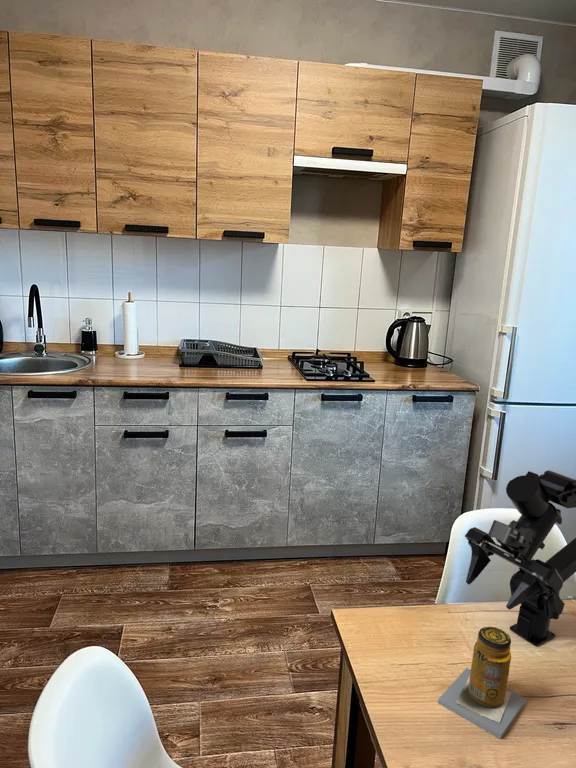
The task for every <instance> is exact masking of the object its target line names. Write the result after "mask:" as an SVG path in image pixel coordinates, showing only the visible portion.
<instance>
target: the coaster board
mask: <svg viewBox="0 0 576 768" xmlns="http://www.w3.org/2000/svg"><path fill="white" fill-rule="evenodd" d="M470 673H471V668H470V669H469V668H468V667H465V669H464V670H463V671H462V672H461V673H460V674H459V675H458V677H457V678H456V679H455V680H454V681H453V682H452V683H451V685H450V686H449V687H448V688H447V689H446V690H445V691H444V692H443V693H442V694H441V696H440V697H439V698H438V699H437V703H438V705H441V706H442V707H444V708H445V709H447V710H449V711H451V712H452V713H454V714H456V715H458V716H460V717H462V718H463V719H464V720H467V721H469V722H470V723H472V724H474V725H475V726H477V727H479V728H480V729H483V730H484V731H486V732H487V733H489V734H491V735H492V736H495V737H496V738H498V739H500V740H501V739H502V738H503V737H504V735H505V734H506V733H507V731H508V729H509V728H510V727H511V725H512V724H513V722H514V721H515V719H516V718H517V716H518V715H519V714H520V712H521V711H522V709H523V708H524V706H525V705H526V703H527V698H526V697H524V696H523V695H520V694H518V693H516V692H514V691H512V690H510V689H508V688H507V687H506V690H507V691H509V692H512V693H511V695H510V698H509V701H508V703H507V706H506V708H505V710H504V713H503V715H502V718H501V721H500V723H499V722H496V721H494V720H491V719H489V718H487V717H485V716H481V715H480V714H478V713H476V712H473V711H471V710H469V709H467V708H465V707H463V706H461V705H460V704H458V703H456V701H457V699H458V697H459V695H460V693H461V691H462V689H463V688H464V686H465V684H466V682H467V680H468V678H469V676H470ZM491 710H492V709H491Z"/></svg>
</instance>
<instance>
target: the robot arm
mask: <svg viewBox="0 0 576 768" xmlns="http://www.w3.org/2000/svg"><path fill="white" fill-rule="evenodd" d="M505 493H506V495H507V497H508V498H509V499H510V501H511V503H512V505H514V507H515V509H516V510H517V511H518V513H519V514H520V516H519V518H518V519H517V520H514V519H513V520H512V521H510V522H509V524H506V523H504V522H501V521H498V520H496V519H494V520H493V521H492V524H491V526H490V528H489V531H488V532H486V531H483V530H482V529H479V528H478V527H471V528H469V529H468V531H467V532H466V533H465V535H464V537H465V538H466V540H467V541H468V542H467V544H468V545H469V547H470V548H471V550H470V551H471V558H470V563H469V567H468V570H467V575H466V579H465V583H466V584H467V585H469V586H470V585H471V584H472V583H473V582H474V581H475V580H476V579H477V578H478V577H479V575H480V574H482V572H483V571H484V570H485V569H486V567H487V566H488V565H489V564H490V562H491V559H490V557H491V556H494V555H495V556H498V557H499V558H501V559H503V560H505V561H507V562H509V563H511V564H513V565H514V566H516V567H518V571H516V572H515V573H513V575H512V576H511V578H510V581H509V588H510V595H511V597H510V598H509V600H508V601H507V603H506V605H505V607H506V608H507V609H508V610H512V609H514V608H515V607H517V606H519V605H520V606H519V610H518V614H517V620H516V623H514V624H513V625H510V626H509V630H510V631H511V632H513V633H515V634H516V635H518V636H520V637H521V638H522V639H524V640H525V641H526V642H529V643H530V644H532V645H533V646H535V647H538V646H540V645H543V644H544V643H546V642H548V641H550V640H553V639H554V638H555V637H556V634H555V633H553V632H552V631H550V630H549V629H550V623H551V619H552V620H559V618H560V615H562V614H563V611H564V608H565V606H566V605H565V602H564V601H563V600H562V599H561V597H560V593H561V589H562V588H563V585H564V583H565V582H566V581H568V579H569V578H571V576H573V575H574V574H575V573H576V537H575V538H573V539H572V540H570V541H569V542H568V543H567V544H566V545H565V546H564V547H562V548H561V549H560V550H558V551H557V552H556V553H554V555H552V556H551V557H550V558H549V559H547V560H546V561H542V560H540V559H538V558H536V559H534V558H533V557H534V556H536V554H537V552H538V550H539V549H541V550H542V551H543V550H544V548H545V547H546V544H545V543H544V541H545V540H546V538H547V536H548V535H549V534H550V532H551V530H553V528H554V526H555V524H558V525H562V524H563V523H562V522H563V517H562V514H561V513H562V511H561V509H559V508H557V507H556V506H555V505H558V506H560V507H563V508H565V509H574V508H576V479H575V478H571V477H569V476H566V475H564V474H561V473H559V472H555V471H553V470H549V469H548V470H545V471H543V474H540V475H539V474H538V473H535V472H533V471H530V470H528V472H527V473H526V474H525V475H519V476H516V477H514V478H512V479H511V480H509V481H508V482H507V485H506V488H505ZM554 504H555V505H554ZM493 538H495V540H496V541H497V542H495V540H494V539H493ZM497 543H498V544H497Z"/></svg>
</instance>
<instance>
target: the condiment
mask: <svg viewBox="0 0 576 768" xmlns="http://www.w3.org/2000/svg"><path fill="white" fill-rule="evenodd" d="M477 636H478V637H477V639H476V642H475V643H474V645H473V653H472V661H471V668H470V670H471V673H470V676H469V678H468V680H467V682H466V684H465V686H464V688H463V689H462V691H461V693H460V695H459V697H458V699H457V701H456V703H458V704H460V705H461V706H463V707H465V708H467V709H469V710H471V711H473V712H476V713H478V714H480V715H481V716H485V717H487V718H489V719H491V720H494V721H496V722H499V723H500V721H501V718H502V715H503V713H504V710H505V708H506V706H507V703H508V701H509V698H510V695H511V693H512V692H509V691H507V690H506V688H507V686H508V682H509V673H510V665H511V660H512V653H511V645H512V639H511V637H510V634H508V633H507V632H506V631H504V630H503V629H501V628H499V627H496V626H484V627H482V628H480V629H479V631H478V633H477ZM491 709H492V710H491Z"/></svg>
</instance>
